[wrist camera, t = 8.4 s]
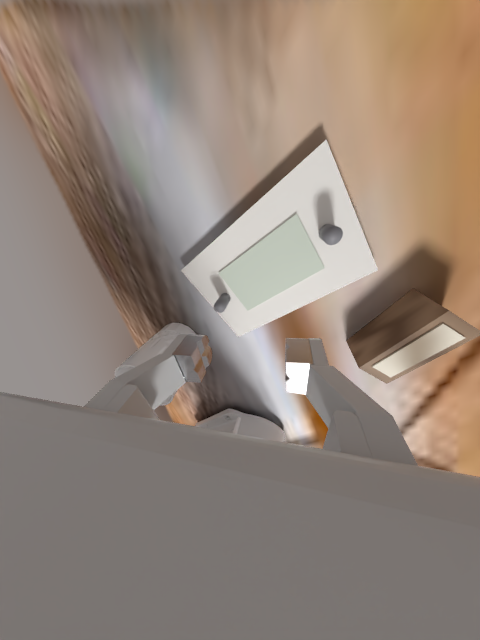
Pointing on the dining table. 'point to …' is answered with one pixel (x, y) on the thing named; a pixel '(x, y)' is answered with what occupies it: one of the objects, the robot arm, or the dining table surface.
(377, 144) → the dining table surface
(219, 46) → the dining table surface
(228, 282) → the wall panel
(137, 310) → the dining table surface
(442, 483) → the robot arm
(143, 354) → the pale white cylinder
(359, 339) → the walnut frame
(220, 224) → the dining table surface
